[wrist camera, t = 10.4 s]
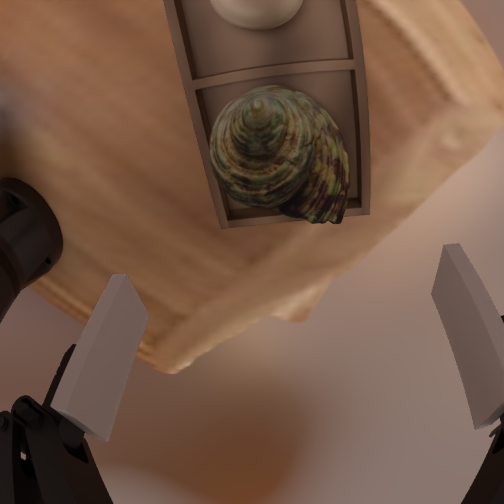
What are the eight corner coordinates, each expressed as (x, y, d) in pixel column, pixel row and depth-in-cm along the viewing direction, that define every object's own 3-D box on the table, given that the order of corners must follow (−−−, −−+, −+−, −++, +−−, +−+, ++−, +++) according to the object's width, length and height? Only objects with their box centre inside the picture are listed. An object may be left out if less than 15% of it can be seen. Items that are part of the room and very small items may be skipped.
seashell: (226, 197, 30) (206, 264, 23) (218, 79, 23) (185, 102, 16) (337, 199, 30) (356, 268, 22) (346, 81, 23) (382, 106, 15)
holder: (225, 213, 33) (221, 228, 30) (162, -49, 16) (151, -56, 14) (363, 199, 30) (369, 214, 28) (329, -76, 14) (334, -86, 12)
